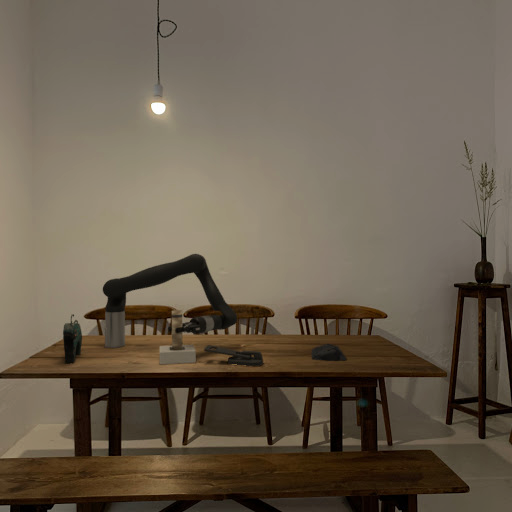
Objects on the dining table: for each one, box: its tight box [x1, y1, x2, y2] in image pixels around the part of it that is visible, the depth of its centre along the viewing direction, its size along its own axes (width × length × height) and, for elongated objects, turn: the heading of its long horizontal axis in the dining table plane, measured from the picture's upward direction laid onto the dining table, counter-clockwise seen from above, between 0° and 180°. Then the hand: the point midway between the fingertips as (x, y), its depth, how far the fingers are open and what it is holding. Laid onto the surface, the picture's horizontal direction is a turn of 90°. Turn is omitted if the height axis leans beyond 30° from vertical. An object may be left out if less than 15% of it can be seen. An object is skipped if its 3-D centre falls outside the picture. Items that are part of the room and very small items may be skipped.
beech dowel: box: [171, 309, 184, 350], centre depth 206 cm, size 5×5×20 cm
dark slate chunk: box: [311, 343, 347, 362], centre depth 216 cm, size 15×22×5 cm
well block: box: [159, 344, 197, 365], centre depth 206 cm, size 15×13×5 cm
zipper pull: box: [203, 344, 264, 367], centre depth 201 cm, size 9×7×25 cm
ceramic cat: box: [62, 313, 83, 365], centre depth 207 cm, size 20×6×20 cm, turn 9°
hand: (172, 329), depth 204 cm, fingers closed on beech dowel, 4 cm apart
